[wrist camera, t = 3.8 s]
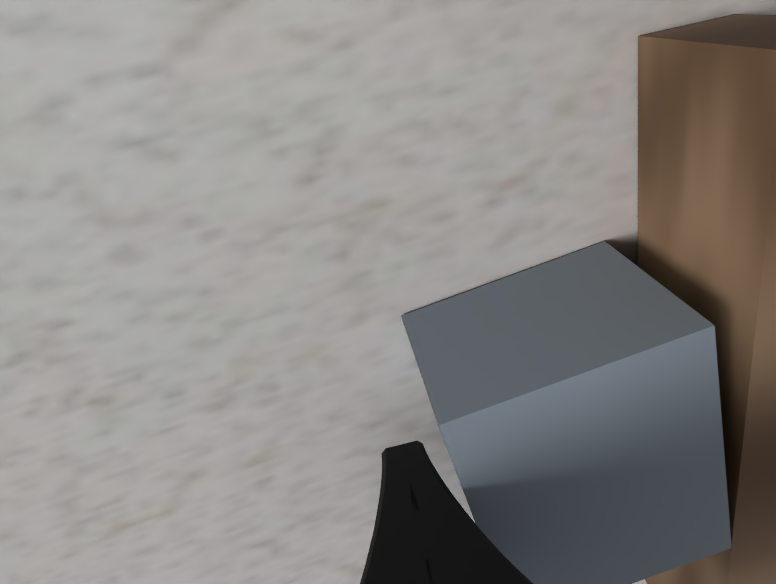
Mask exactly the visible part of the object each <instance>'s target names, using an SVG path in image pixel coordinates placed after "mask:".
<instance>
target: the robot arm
mask: <svg viewBox="0 0 776 584" xmlns="http://www.w3.org/2000/svg"><path fill="white" fill-rule="evenodd" d="M360 584H533V583H532V582H531V581H530V580H529V579H528V578H527V577H526V576H525V575H524V574H522V573H521V572H520V571H519V570H518V569H517V568H516V567H515V566H514V565H513V564H512V563H511V562H510V561H509V560H508V559H507V558H506V557H505V556H504V555H503V554H502V553H501V552H500V551H499V550H498V549H497V548H496V546H495V545H494V544H493V543H492V542H491V541H490V540H489V539H488V538H487V537H486V535H485V534H484V533H483V532H482V531H481V530H480V529H479V527H478V526H477V525H476V524H475V523H474V522H473V520H472V519H471V518H470V517H469V515H468V514H467V513H466V512H465V510H464V509H463V508H462V506H461V505H460V504H459V502H458V501H457V500H456V499H455V497H454V496H453V495H452V493H451V492H450V490H449V489H448V488H447V486H446V485H445V483H444V482H443V480H442V479H441V477H440V476H439V474H438V472H437V471H436V469H435V468H434V466H433V464H432V462H431V461H430V459H429V457H428V455H427V453H426V451H425V448H424V446H423V443H421V442H419V441H414V442H410V443H406V444H402V445H398V446H394V447H390V448H386V449H385V450H384V451H383V453H382V480H381V489H380V498H379V504H378V510H377V516H376V521H375V527H374V532H373V536H372V540H371V544H370V548H369V553H368V557H367V561H366V565H365V568H364V572H363V575H362V579H361V582H360Z"/></svg>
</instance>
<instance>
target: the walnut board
mask: <svg viewBox="0 0 776 584" xmlns="http://www.w3.org/2000/svg"><path fill="white" fill-rule="evenodd" d="M638 267H639V268H640V269H642V270H643V271H644V272H646V273H647V274H648V275H649V276H651V277H652V278H653V279H655V280H656V281H657V282H659V283H660V284H661V285H663V286H664V287H665V288H666V289H668V290H669V291H670V292H672V293H673V294H674V295H676V296H677V297H678V298H679V299H681V300H682V301H683V302H685V303H686V304H687V305H689V306H690V307H691V308H692V309H694V310H695V311H696V312H698V313H699V314H700V315H702V316H703V317H704V318H705V319H707V320H708V321H709V322H711V323H712V324H713V325H715V337H716V351H717V364H718V377H719V390H720V403H721V416H722V429H723V442H724V455H725V468H726V481H727V494H728V507H729V520H730V533H731V549H728V550H725V551H722V552H720V553H717V554H714V555H711V556H708V557H705V558H703V559H700V560H697V561H694V562H691V563H688V564H686V565H683V566H680V567H677V568H674V569H671V570H669V571H666V572H663V573H660V574H657V575H655V576H652V577H649V578H646V579H645V580H646V582H647V584H776V15H746V14H733V15H729V16H724V17H720V18H715V19H711V20H707V21H702V22H698V23H693V24H689V25H685V26H680V27H676V28H671V29H667V30H662V31H658V32H654V33H649V34H645V35H640V36H638Z"/></svg>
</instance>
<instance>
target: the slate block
mask: <svg viewBox="0 0 776 584" xmlns="http://www.w3.org/2000/svg"><path fill="white" fill-rule="evenodd" d="M401 317H402V320H403V323H404V326H405V328H406V331H407V334H408V337H409V340H410V343H411V346H412V349H413V352H414V355H415V358H416V361H417V364H418V367H419V370H420V372H421V375H422V378H423V381H424V384H425V387H426V390H427V393H428V396H429V399H430V402H431V405H432V408H433V411H434V414H435V416H436V419H437V422H438V425H439V428H440V431H441V433H442V436H443V438H444V441H445V444H446V446H447V449H448V452H449V454H450V457H451V459H452V462H453V465H454V467H455V470H456V473H457V475H458V478H459V481H460V483H461V486H462V488H463V491H464V494H465V496H466V499H467V502H468V504H469V507H470V510H471V512H472V515H473V517H474V520H475V523H476V525H477V526H478V527H479V529H480V530H481V531H482V532H483V533H484V534H485V535H486V537H487V538H488V539H489V540H490V541H491V542H492V543H493V544H494V545H495V546H496V548H497V549H498V550H499V551H500V552H501V553H502V554H503V555H504V556H505V557H506V558H507V559H508V560H509V561H510V562H511V563H512V564H513V565H514V566H515V567H516V568H517V569H518V570H519V571H520V572H521V573H522V574H524V575H525V576H526V577H527V578H528V579H529V580H530V581H531V582H532V583H533V584H632V583H635V582H638V581H640V580H643V579H646V578H649V577H652V576H655V575H657V574H660V573H663V572H666V571H669V570H671V569H674V568H677V567H680V566H683V565H686V564H688V563H691V562H694V561H697V560H700V559H703V558H705V557H708V556H711V555H714V554H717V553H720V552H722V551H725V550H728V549H731V533H730V520H729V507H728V494H727V481H726V468H725V455H724V442H723V429H722V416H721V403H720V390H719V377H718V364H717V351H716V337H715V325H713V324H712V323H711V322H709V321H708V320H707V319H705V318H704V317H703V316H702V315H700V314H699V313H698V312H696V311H695V310H694V309H692V308H691V307H690V306H689V305H687V304H686V303H685V302H683V301H682V300H681V299H679V298H678V297H677V296H676V295H674V294H673V293H672V292H670V291H669V290H668V289H666V288H665V287H664V286H663V285H661V284H660V283H659V282H657V281H656V280H655V279H653V278H652V277H651V276H649V275H648V274H647V273H646V272H644V271H643V270H642V269H640V268H639V267H638V266H636V265H635V264H634V263H633V262H631V261H630V260H629V259H627V258H626V257H625V256H623V255H622V254H621V253H620V252H618V251H617V250H616V249H614V248H613V247H612V246H610V245H609V244H608V243H606V242H605V241H604V242H601V243H598V244H595V245H593V246H590V247H587V248H585V249H582V250H579V251H576V252H574V253H571V254H568V255H565V256H563V257H560V258H557V259H555V260H552V261H549V262H546V263H544V264H541V265H538V266H535V267H533V268H530V269H527V270H525V271H522V272H519V273H516V274H514V275H511V276H508V277H505V278H503V279H500V280H497V281H494V282H492V283H489V284H486V285H484V286H481V287H478V288H475V289H473V290H470V291H467V292H464V293H462V294H459V295H456V296H454V297H451V298H448V299H445V300H443V301H440V302H437V303H434V304H432V305H429V306H426V307H424V308H421V309H418V310H415V311H413V312H410V313H407V314H404V315H402V316H401Z"/></svg>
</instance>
